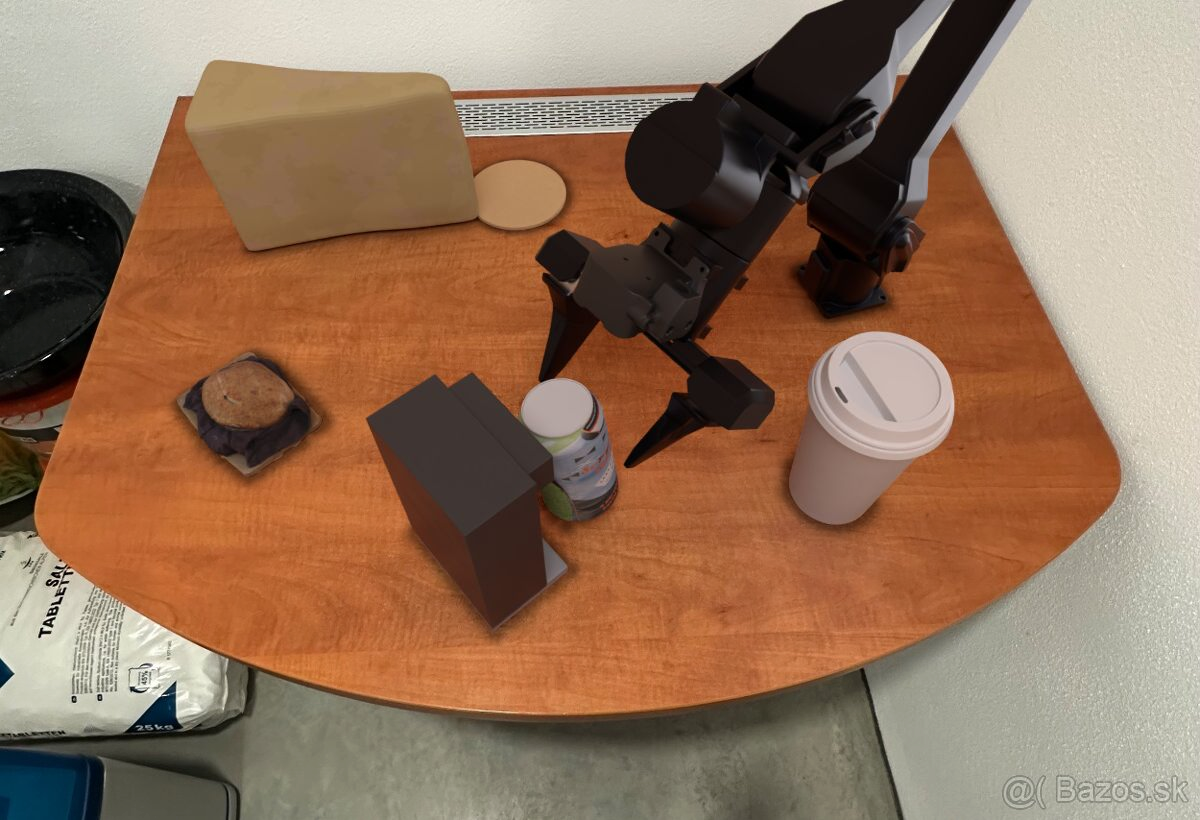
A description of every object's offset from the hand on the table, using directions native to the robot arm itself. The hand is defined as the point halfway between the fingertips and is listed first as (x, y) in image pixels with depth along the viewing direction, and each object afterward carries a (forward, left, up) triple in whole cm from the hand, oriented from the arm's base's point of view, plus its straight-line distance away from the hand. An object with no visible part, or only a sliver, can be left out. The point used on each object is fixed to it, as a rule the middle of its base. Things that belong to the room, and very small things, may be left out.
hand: (583, 423), depth 56 cm
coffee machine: (+9, +4, -9) cm, 13 cm away
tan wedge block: (+12, -34, -9) cm, 37 cm away
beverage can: (+1, +1, -9) cm, 9 cm away
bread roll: (+25, -14, -9) cm, 30 cm away
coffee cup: (-19, +6, -9) cm, 22 cm away
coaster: (-3, -33, -9) cm, 35 cm away
